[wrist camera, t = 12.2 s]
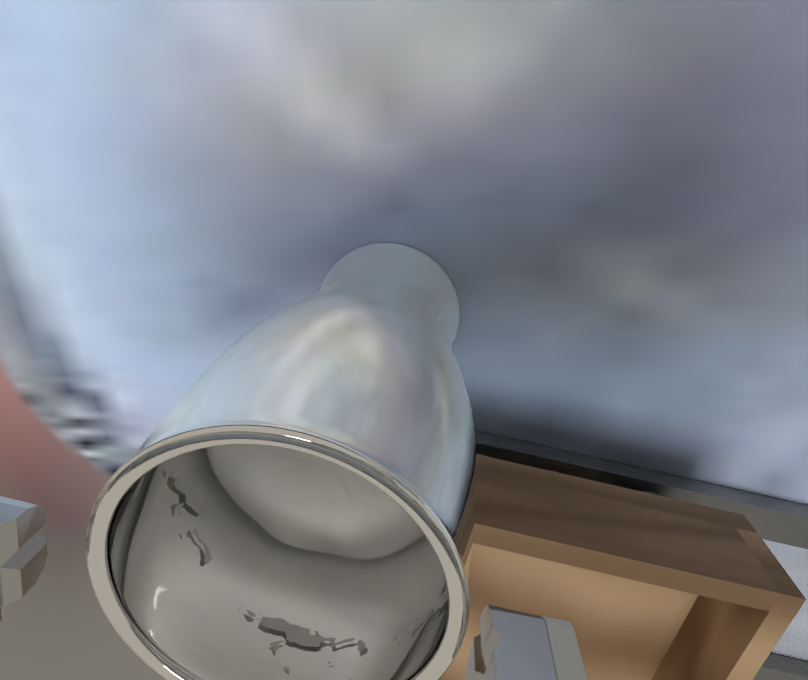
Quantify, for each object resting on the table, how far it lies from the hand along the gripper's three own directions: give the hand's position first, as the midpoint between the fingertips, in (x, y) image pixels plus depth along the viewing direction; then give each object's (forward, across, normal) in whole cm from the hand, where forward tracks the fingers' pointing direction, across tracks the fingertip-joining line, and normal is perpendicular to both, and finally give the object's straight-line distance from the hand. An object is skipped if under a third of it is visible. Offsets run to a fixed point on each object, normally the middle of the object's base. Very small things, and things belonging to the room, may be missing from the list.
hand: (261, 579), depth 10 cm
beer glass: (+14, -1, -1) cm, 15 cm away
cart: (+13, -10, +9) cm, 19 cm away
